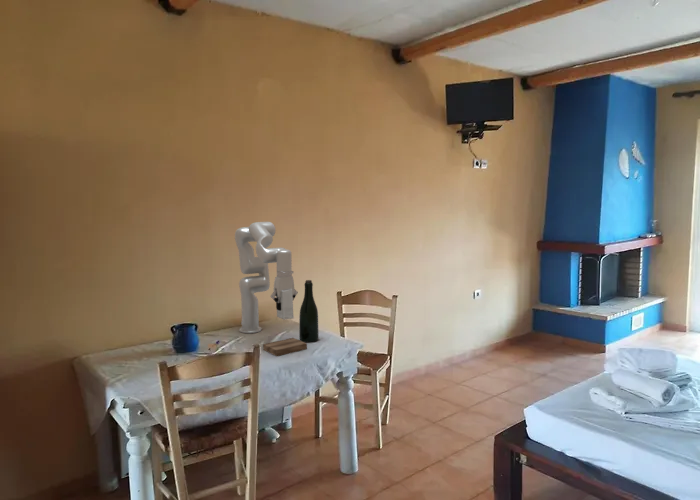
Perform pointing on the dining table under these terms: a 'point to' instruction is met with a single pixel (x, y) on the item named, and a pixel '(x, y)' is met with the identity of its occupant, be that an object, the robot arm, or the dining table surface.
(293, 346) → the walnut base
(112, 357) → the dining table surface
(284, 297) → the skincare box
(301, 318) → the green wine bottle
